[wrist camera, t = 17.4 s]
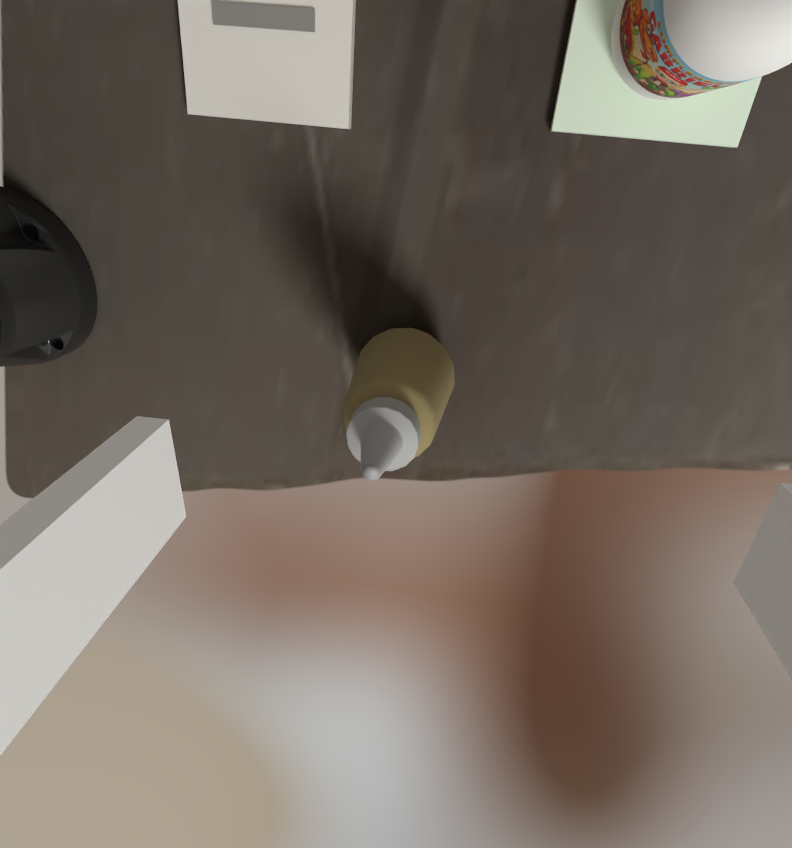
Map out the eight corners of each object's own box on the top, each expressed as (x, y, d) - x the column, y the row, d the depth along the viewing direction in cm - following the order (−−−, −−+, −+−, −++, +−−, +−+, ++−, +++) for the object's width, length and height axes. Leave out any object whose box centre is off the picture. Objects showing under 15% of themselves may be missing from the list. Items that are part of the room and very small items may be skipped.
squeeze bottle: (402, 418, 48) (362, 549, 32) (346, 350, 46) (272, 454, 30) (476, 370, 45) (472, 489, 29) (418, 294, 42) (380, 378, 27)
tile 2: (550, 131, 36) (551, 130, 35) (596, -105, 30) (599, -113, 29) (732, 147, 35) (738, 147, 34) (815, -95, 29) (825, -103, 28)
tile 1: (193, 114, 39) (186, 113, 38) (174, -104, 33) (165, -112, 32) (350, 129, 38) (347, 128, 37) (359, -95, 32) (355, -101, 31)
